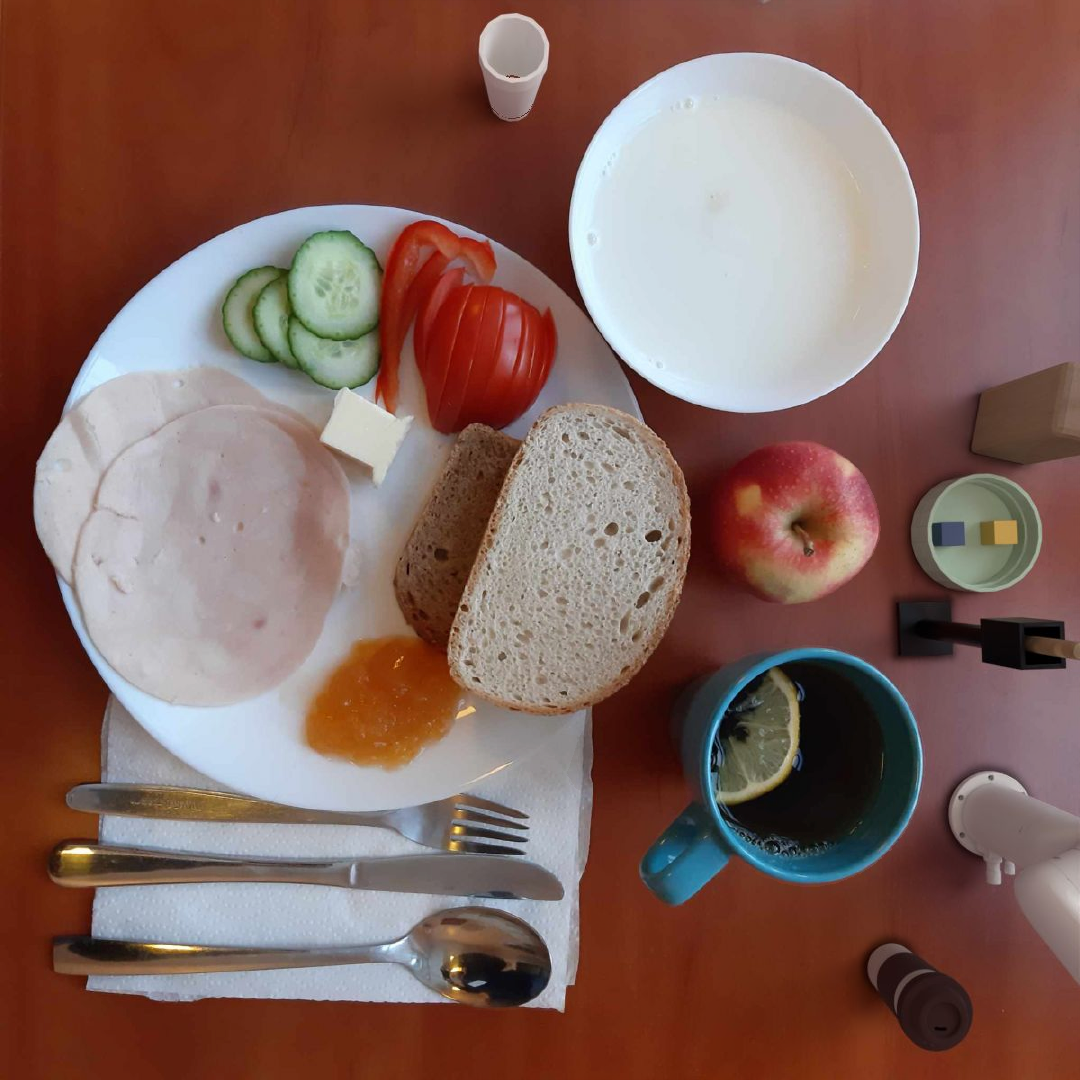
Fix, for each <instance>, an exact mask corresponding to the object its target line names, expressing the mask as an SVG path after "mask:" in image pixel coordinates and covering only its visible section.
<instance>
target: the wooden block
mask: <svg viewBox="0 0 1080 1080" xmlns="http://www.w3.org/2000/svg"><path fill="white" fill-rule="evenodd" d="M971 451H972V452H973V453H974V454H977V455H981V456H985V457H990V458H994V459H1000V460H1004V461H1008V462H1012V463H1017V464H1021V465H1027V466H1029V465H1034V464H1039V463H1044V462H1045V463H1046V462H1051V461H1056V460H1061V459H1067V458H1073V457H1079V456H1080V363H1079V362H1075V361H1071V360H1070V361H1064V362H1063V363H1059V364H1056V365H1054V366H1050V367H1047V368H1045V369H1042V370H1039V371H1036V372H1033V373H1030V374H1027V375H1024V376H1021V377H1019V378H1016V379H1013V380H1011V381H1010V380H1009V381H1007V382H1004V383H1001V384H999V385H995V386H992V387H989V388H987V389H985V390H983V391H982V392H981V394H980V398H979V402H978V409H977V413H976V419H975V425H974V430H973V436H972V441H971Z"/></svg>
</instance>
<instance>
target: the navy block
mask: <svg viewBox="0 0 1080 1080" xmlns="http://www.w3.org/2000/svg"><path fill="white" fill-rule="evenodd" d="M931 528H932V543H933V546H963V545H965V528H964V522H937V523H932V527H931Z"/></svg>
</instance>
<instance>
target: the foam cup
mask: <svg viewBox="0 0 1080 1080" xmlns="http://www.w3.org/2000/svg"><path fill="white" fill-rule="evenodd" d="M549 53H550V42H549V40H548V36H547V35H546V32H545V30H544V28H543V27H542V26H541V25H539V24H538V23H537V22H536V20H535V19H533V18H532V17H529V16H526V15H523V14H521V13H518V12H515V13H514V12H513V13H505V14H500V15H498V16H497V17H495V18H494V19H492V20H490V21H489V22H487V24H486V26H485V27H484V29H483V30H482V32H481V34H480V35H479V45H478V63H479V66H480V68H481V71H482V75H483V80H484V84H485V88H486V93H487V97H488V101H489V104H490V107H491V110H492V112H493V113H494V114H495V115H496V116H497V117H498V118H499V119H500V120H503V121H506V122H509V123H510V122H519V121H520V120H522V119H524V118H525V117H527V116H528V115H529V112H530V111H531V110H532V108H533V105H534V103H535V99H536V97H537V94H538V91H539V90H540V89H539V88H540V86H541V83H542V80H543V77H544V75H545V74H546V72H547V70H548V64H549ZM507 75H508V76H510V75H514V76H518V77H520V78H514V77H510V78H509V77H506V76H507ZM532 104H533V105H532ZM531 106H532V107H531ZM492 108H493V109H494V110H495V111H496V112H497V113H498V114H499V115H498V114H497V113H496V112H495V111H494V110H493V109H492ZM529 109H530V110H529ZM528 111H529V112H528ZM527 112H528V113H527ZM525 113H527V114H525ZM524 114H525V115H524ZM522 115H524V116H522ZM502 116H503V117H502ZM521 116H522V117H521ZM505 117H506V118H505ZM516 117H520V118H516ZM508 118H516V119H508Z"/></svg>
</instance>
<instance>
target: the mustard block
mask: <svg viewBox="0 0 1080 1080" xmlns="http://www.w3.org/2000/svg"><path fill="white" fill-rule="evenodd" d="M980 524H981V545H1005V544H1018V541H1017V520H1009V521H986V522H980Z"/></svg>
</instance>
